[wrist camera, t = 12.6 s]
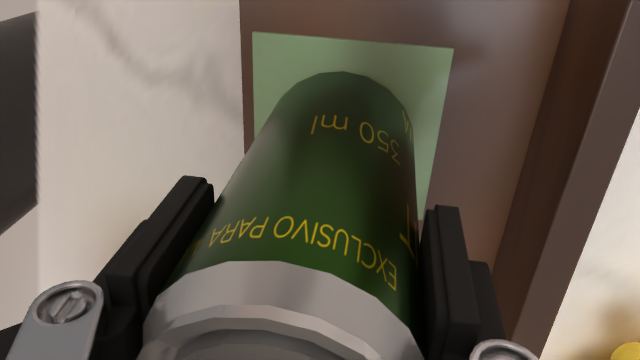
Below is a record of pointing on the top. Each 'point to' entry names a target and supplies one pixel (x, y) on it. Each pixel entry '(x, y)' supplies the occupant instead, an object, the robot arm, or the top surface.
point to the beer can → (306, 240)
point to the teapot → (627, 352)
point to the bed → (479, 116)
